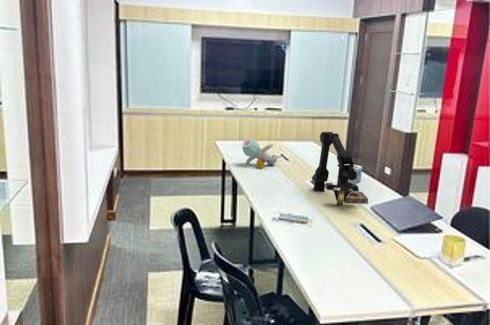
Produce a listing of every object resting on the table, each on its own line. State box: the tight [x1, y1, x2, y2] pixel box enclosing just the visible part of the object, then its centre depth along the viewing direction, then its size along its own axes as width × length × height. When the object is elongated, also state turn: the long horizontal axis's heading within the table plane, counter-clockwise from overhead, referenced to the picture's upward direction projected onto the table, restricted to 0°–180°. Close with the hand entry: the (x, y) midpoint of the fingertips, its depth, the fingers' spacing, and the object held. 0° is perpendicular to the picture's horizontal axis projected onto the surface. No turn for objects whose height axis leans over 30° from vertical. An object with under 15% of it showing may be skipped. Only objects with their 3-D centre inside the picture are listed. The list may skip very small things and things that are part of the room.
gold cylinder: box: [335, 188, 345, 207], centre depth 268 cm, size 4×4×9 cm
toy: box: [242, 138, 278, 170], centre depth 342 cm, size 32×18×30 cm
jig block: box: [344, 191, 369, 204], centre depth 279 cm, size 14×14×3 cm
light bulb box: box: [354, 164, 363, 184], centre depth 319 cm, size 11×7×11 cm, turn 149°
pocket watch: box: [348, 177, 360, 192], centre depth 295 cm, size 10×11×15 cm
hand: (340, 200), depth 268 cm, fingers closed on gold cylinder, 4 cm apart
